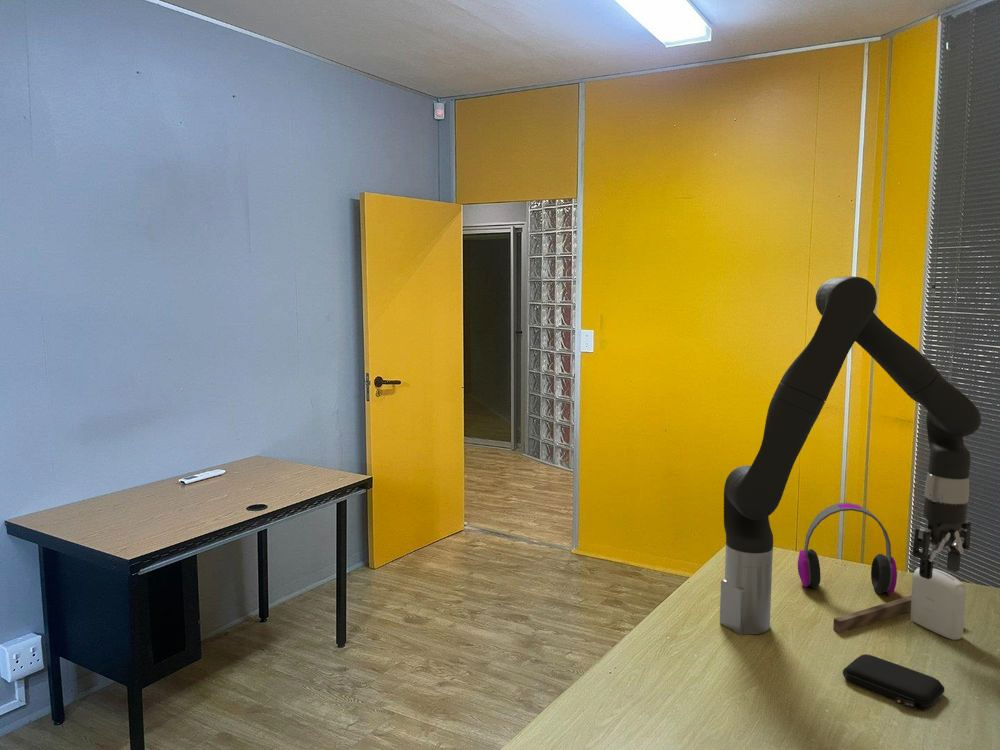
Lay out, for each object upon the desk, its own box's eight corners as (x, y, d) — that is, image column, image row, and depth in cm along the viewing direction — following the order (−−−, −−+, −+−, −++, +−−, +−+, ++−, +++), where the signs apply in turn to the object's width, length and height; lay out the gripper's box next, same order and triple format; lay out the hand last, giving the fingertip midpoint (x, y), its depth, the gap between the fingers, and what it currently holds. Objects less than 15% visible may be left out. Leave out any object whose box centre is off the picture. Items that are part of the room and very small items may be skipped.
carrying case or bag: (835, 684, 133) (925, 720, 122) (836, 668, 133) (926, 703, 122) (860, 663, 140) (947, 695, 130) (861, 648, 140) (948, 679, 129)
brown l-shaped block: (877, 652, 144) (877, 637, 143) (833, 630, 153) (833, 616, 152) (959, 624, 154) (960, 610, 154) (913, 605, 163) (914, 592, 163)
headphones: (888, 585, 174) (894, 502, 171) (899, 601, 166) (905, 514, 163) (794, 577, 179) (798, 497, 176) (800, 593, 170) (804, 508, 168)
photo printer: (906, 620, 157) (909, 564, 155) (921, 616, 158) (925, 560, 156) (951, 642, 147) (955, 582, 145) (966, 638, 149) (971, 579, 147)
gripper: (950, 487, 155) (944, 561, 157) (905, 496, 149) (898, 573, 151) (987, 497, 148) (979, 574, 151) (941, 506, 142) (934, 587, 144)
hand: (939, 573), depth 151 cm, fingers open, 8 cm apart
